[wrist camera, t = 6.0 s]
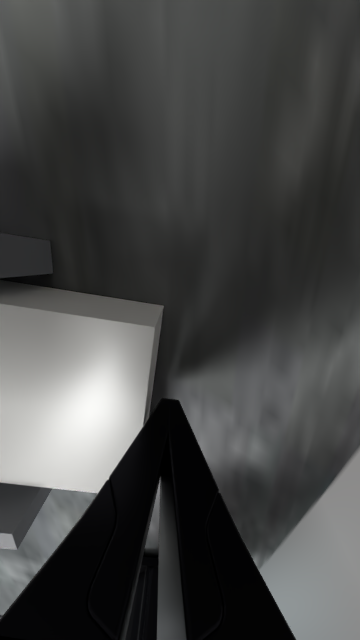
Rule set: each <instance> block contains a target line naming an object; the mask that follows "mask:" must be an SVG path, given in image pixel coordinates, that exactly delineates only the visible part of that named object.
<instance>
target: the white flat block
mask: <svg viewBox="0 0 360 640" xmlns="http://www.w3.org/2000/svg"><path fill="white" fill-rule="evenodd" d="M163 308H164V306H162V305H156V304H150V303H143V302H137V301H131V300H124V299H118V298H112V297H105V296H99V295H93V294H86V293H80V292H74V291H67V290H61V289H55V288H48V287H42V286H36V285H29V284H23V283H17V282H10V281H4V280H0V483H8V484H18V485H27V486H36V487H45V488H54V489H63V490H73V491H82V492H91V493H98V492H99V491H100V489H101V488H102V486H103V485H104V483H105V482H106V481H107V480H109V476H110V475H111V473H112V472H113V470H114V469H115V467H116V466H117V464H118V463H119V461H120V460H121V458H122V457H123V455H124V454H125V452H126V451H127V450H128V448H129V447H130V445H131V444H132V442H133V441H134V439H135V438H136V436H137V435H138V433H139V432H140V430H141V429H142V427H143V426H144V424H145V423H146V421H147V420H148V418H149V413H150V406H151V398H152V391H153V383H154V376H155V368H156V361H157V353H158V346H159V338H160V331H161V323H162V316H163Z"/></svg>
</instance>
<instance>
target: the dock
mask: <svg viewBox="0 0 360 640" xmlns="http://www.w3.org/2000/svg"><path fill="white" fill-rule="evenodd" d="M52 273H53V266H52V256H51V245H50V241H49V240H43V239H36V238H30V237H24V236H17V235H11V234H5V233H0V278H8V277H19V276H30V275H41V274H52ZM51 490H52V488H45V487H36V486H27V485H18V484H8V483H0V548H3V549H15V550H17V549H18V547H19V546H20V544H21V542H22V540H23V539H24V537H25V535H26V533H27V532H28V530H29V528H30V526H31V525H32V523H33V521H34V519H35V518H36V516H37V514H38V512H39V511H40V509H41V507H42V505H43V504H44V502H45V500H46V498H47V497H48V495H49V493H50V491H51Z"/></svg>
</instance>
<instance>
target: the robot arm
mask: <svg viewBox="0 0 360 640" xmlns="http://www.w3.org/2000/svg"><path fill="white" fill-rule="evenodd" d="M159 480H160V520H159V558H150V557H143V554H144V550H145V545H146V540H147V536H148V531H149V526H150V522H151V517H152V513H153V508H154V503H155V499H156V494H157V489H158V485H159ZM218 492H219V489H218V487H217V484H216V482H215V480H214V478H213V475H212V473H211V471H210V469H209V467H208V464H207V462H206V460H205V458H204V455H203V453H202V451H201V449H200V446H199V444H198V442H197V440H196V437H195V435H194V433H193V431H192V429H191V426H190V424H189V422H188V420H187V417H186V415H185V413H184V411H183V408H182V406H181V404H180V402H179V400H174V399H167V398H162V399H161V401H160V402H159V403H158V405H157V406H156V408H155V409H154V411H153V412H152V414H151V415H150V417H149V418H148V420H147V421H146V423H145V424H144V426H143V427H142V429H141V430H140V432H139V433H138V435H137V436H136V438H135V439H134V441H133V442H132V444H131V445H130V447H129V448H128V450H127V451H126V452H125V454H124V455H123V457H122V458H121V460H120V461H119V463H118V464H117V466H116V467H115V469H114V470H113V472H112V473H111V475H110V476H109V480H107V481H106V482H105V483H104V485H103V486H102V488H101V489H100V491H99V492H98V494H97V495H96V497H95V498H94V499H93V501H92V502H91V504H90V505H89V507H88V508H87V509H86V511H85V512H84V514H83V515H82V516H81V518H80V519H79V520H78V522H77V523H76V524H75V526H74V527H73V528H72V529H71V531H70V532H69V533H68V535H67V536H66V537H65V539H64V540H63V541H62V542H61V544H60V545H59V546H58V548H57V549H56V550H55V551H54V553H53V554H52V555H51V556H50V558H49V559H48V560H47V561H46V563H45V564H44V565H43V566H42V568H41V569H40V570H39V571H38V573H37V574H36V575H35V576H34V578H33V579H32V580H31V581H30V583H29V584H28V585H27V586H26V588H25V589H24V590H23V591H22V593H21V594H20V595H19V596H18V598H17V599H16V600H15V601H14V603H13V604H12V605H11V606H10V607H9V609H8V610H7V611H6V612H5V614H4V615H3V616H2V617H1V619H0V640H296V639H295V637H294V635H293V633H292V631H291V629H290V628H289V626H288V624H287V622H286V620H285V618H284V616H283V615H282V613H281V611H280V609H279V607H278V605H277V604H276V602H275V600H274V598H273V596H272V594H271V593H270V591H269V589H268V587H267V586H266V583H265V581H264V580H263V578H262V576H261V574H260V572H259V570H258V569H257V567H256V565H255V563H254V561H253V559H252V557H251V555H250V553H249V551H248V549H247V548H246V546H245V544H244V542H243V540H242V538H241V536H240V534H239V532H238V530H237V528H236V526H235V524H234V521H233V519H232V517H231V515H230V513H229V511H228V509H227V507H226V504H225V502H224V500H223V498H222V495H221V493H218Z"/></svg>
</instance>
